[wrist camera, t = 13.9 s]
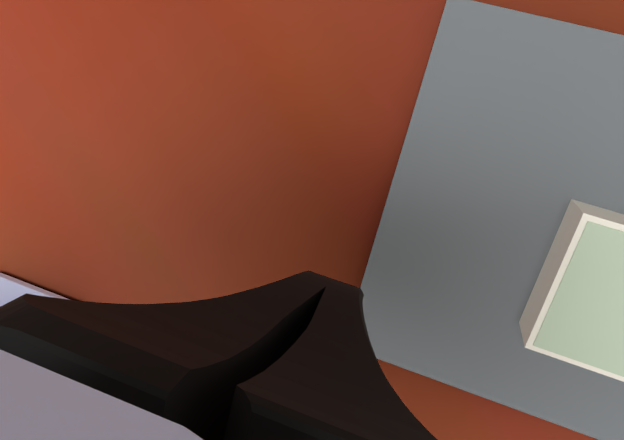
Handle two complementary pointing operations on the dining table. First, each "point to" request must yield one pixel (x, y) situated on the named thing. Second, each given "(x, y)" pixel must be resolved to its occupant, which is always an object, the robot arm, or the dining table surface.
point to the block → (581, 293)
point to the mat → (497, 207)
